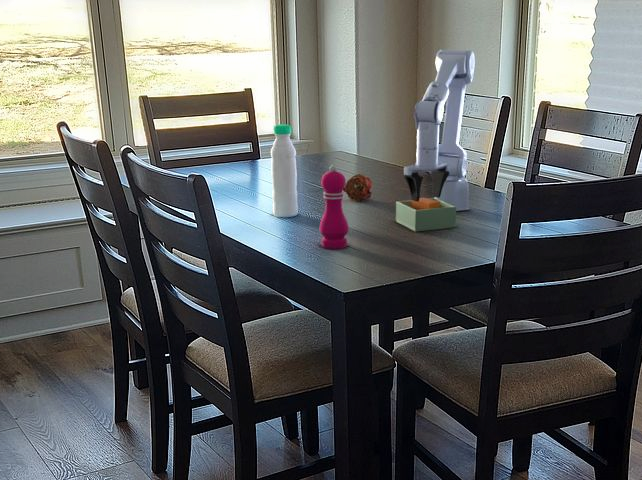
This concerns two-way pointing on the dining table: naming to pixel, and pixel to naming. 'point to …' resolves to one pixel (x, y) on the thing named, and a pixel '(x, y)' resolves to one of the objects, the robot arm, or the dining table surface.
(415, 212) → the open green box
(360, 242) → the dining table surface
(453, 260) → the dining table surface
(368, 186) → the brown rough oval
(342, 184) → the pepper mill
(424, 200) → the orange rectangular block
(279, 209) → the water bottle
